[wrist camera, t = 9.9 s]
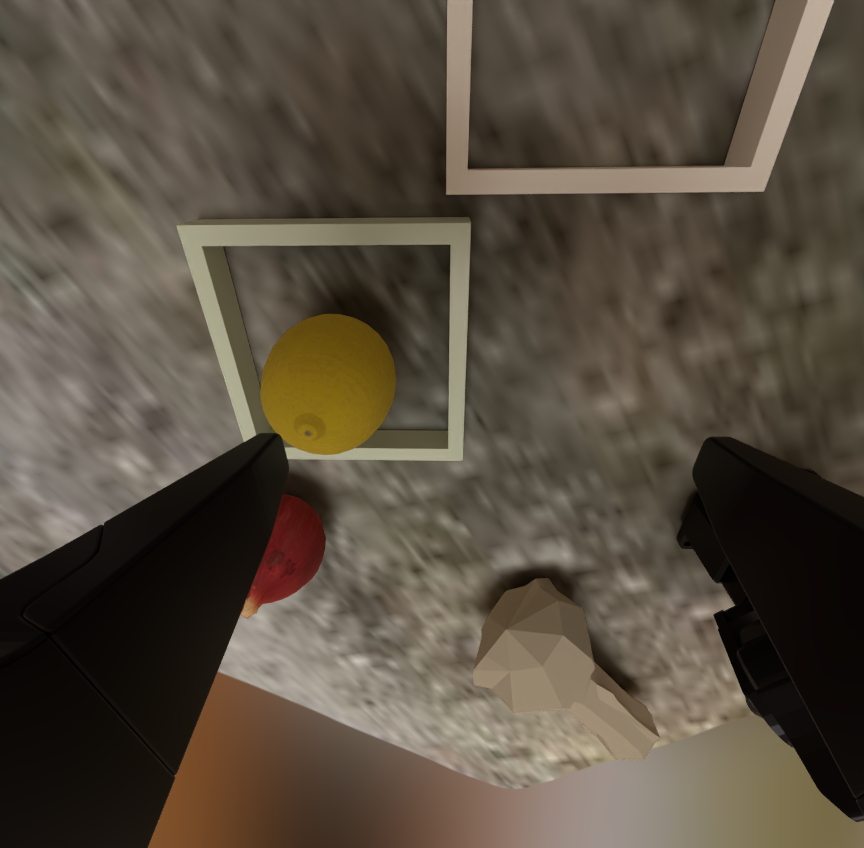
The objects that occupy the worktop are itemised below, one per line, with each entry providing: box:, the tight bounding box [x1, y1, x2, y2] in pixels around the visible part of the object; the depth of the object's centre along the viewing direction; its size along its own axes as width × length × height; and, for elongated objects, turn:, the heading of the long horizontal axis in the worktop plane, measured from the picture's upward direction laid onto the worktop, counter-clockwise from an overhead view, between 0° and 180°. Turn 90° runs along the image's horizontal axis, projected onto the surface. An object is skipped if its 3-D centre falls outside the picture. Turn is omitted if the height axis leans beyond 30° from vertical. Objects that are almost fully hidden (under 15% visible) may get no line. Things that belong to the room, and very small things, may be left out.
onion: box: [241, 494, 326, 619], centre depth 25 cm, size 6×6×8 cm
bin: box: [176, 217, 471, 461], centre depth 21 cm, size 12×12×2 cm
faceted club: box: [473, 578, 660, 760], centre depth 34 cm, size 9×9×25 cm
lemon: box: [260, 314, 396, 455], centre depth 18 cm, size 6×6×8 cm
